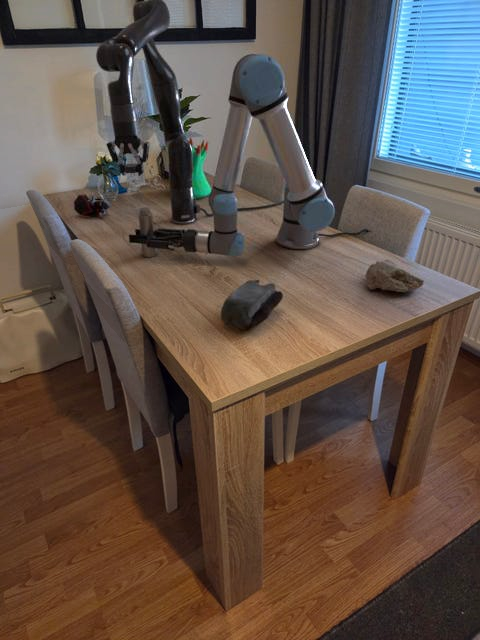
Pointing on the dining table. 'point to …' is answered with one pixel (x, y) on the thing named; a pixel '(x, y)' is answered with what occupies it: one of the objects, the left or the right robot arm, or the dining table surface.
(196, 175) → the toy
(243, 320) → the dark grey soft lump
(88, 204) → the toy
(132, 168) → the lid
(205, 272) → the dining table surface
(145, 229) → the brown long cylinder
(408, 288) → the artifact
